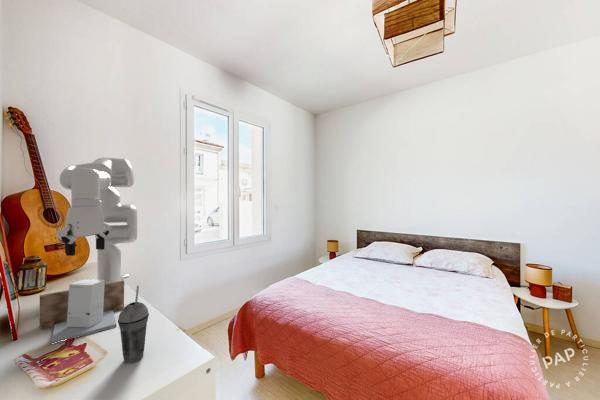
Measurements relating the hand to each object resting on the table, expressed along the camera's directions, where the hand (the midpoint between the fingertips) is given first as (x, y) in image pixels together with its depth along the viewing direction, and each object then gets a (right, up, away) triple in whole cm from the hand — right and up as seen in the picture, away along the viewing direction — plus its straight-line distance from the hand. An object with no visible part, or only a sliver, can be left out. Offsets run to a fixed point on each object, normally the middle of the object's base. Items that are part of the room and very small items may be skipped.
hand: (86, 252), depth 85 cm
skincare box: (0, -26, 0) cm, 26 cm away
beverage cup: (+29, -26, -17) cm, 43 cm away
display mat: (0, -26, 0) cm, 26 cm away
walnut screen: (-7, -26, +8) cm, 28 cm away
